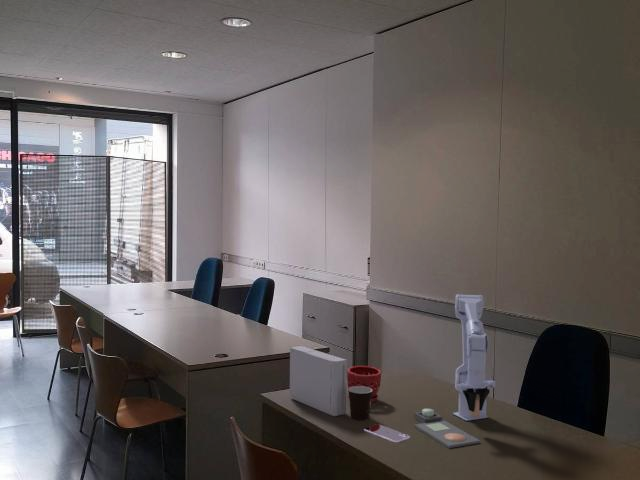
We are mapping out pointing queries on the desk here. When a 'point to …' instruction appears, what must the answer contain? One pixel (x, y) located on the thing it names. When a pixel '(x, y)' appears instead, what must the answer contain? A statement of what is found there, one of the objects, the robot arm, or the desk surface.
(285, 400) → the desk surface
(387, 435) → the mobile phone
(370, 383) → the plant pot
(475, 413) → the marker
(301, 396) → the game console
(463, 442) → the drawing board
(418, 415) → the button housing
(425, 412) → the button
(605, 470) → the desk surface
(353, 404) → the coffee mug
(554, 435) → the desk surface
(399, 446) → the desk surface
